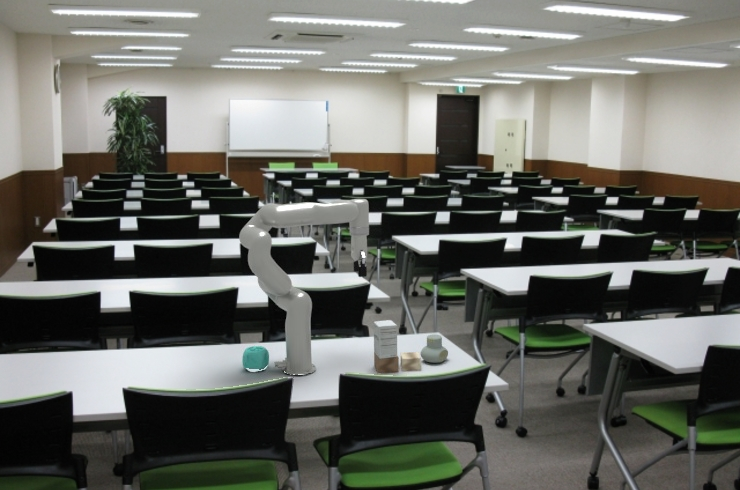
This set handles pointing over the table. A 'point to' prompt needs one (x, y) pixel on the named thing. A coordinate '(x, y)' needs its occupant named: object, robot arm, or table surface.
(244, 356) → the teal rounded cube
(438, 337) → the air freshener
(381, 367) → the walnut block
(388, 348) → the supplement box
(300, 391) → the table surface
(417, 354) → the maple block
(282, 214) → the robot arm
